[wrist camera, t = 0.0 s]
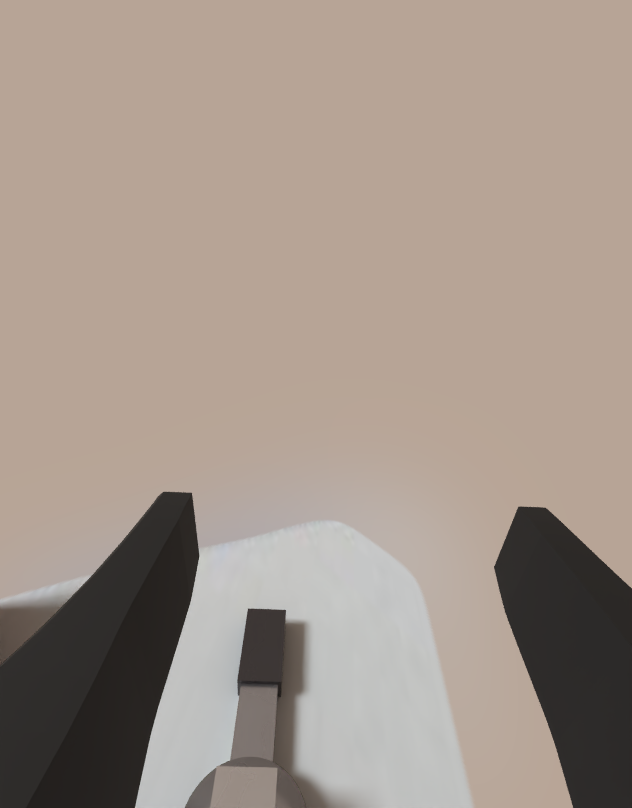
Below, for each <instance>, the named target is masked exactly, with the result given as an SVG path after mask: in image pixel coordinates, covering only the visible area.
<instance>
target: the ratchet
mask: <svg viewBox="0 0 632 808" xmlns="http://www.w3.org/2000/svg"><path fill="white" fill-rule="evenodd" d="M285 617H286V610H271V609H248V612H247V619H246V626H245V633H244V640H243V647H242V654H241V660H240V667H239V674H238V696H239V702H238V709H237V716H236V723H235V731H234V738H233V745H232V752H231V759H230V761H228V762H226V763H224V764H222V765H220V766H217V768H215V769H214V770H213V771H211V772H210V773H209V774H208V775H207V776H206V777H205V778H204V779H203V780H202V781H201V782H200V783H199V785H198V786H197V787H196V789H195V790H194V792H193V793H192V795H191V797H190V798H189V800H188V802H187V804H186V806H185V808H306V806H305V802H304V799H303V797H302V794H301V792H300V790H299V788H298V786H297V784H296V783H295V781H294V780H293V779H292V777H291V776H290V775H289V774H288V773H287V772H286V771H285V770H284V769H283V768H282V767H280V766H279V765H277V764H276V763H274V762H273V756H274V741H275V726H276V711H277V697H281V685H282V668H283V652H284V636H285Z"/></svg>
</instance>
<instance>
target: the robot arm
mask: <svg viewBox="0 0 632 808" xmlns="http://www.w3.org/2000/svg"><path fill="white" fill-rule="evenodd" d="M198 560H199V549H198V541H197V533H196V524H195V515H194V507H193V499H192V493H181V492H163V493H162V494H160V495H159V496H158V498H157V499H156V500H155V502H154V503H153V504H152V505H151V507H150V508H149V509H148V510H147V512H146V513H145V514H144V515H143V517H142V518H141V519H140V520H139V522H138V523H137V524H136V525H135V526H134V528H133V529H132V530H131V531H130V532H129V534H128V535H127V536H126V537H125V538H124V540H123V541H122V542H121V543H120V545H118V547H117V548H116V549H115V550H114V551H113V552H112V554H111V555H110V556H109V557H108V558H107V559H106V560H105V561H104V563H103V564H102V565H101V566H100V567H99V568H98V569H97V570H96V572H95V573H94V574H93V575H92V576H91V577H90V578H89V579H88V580H87V581H86V582H85V583H84V584H83V585H82V586H81V588H80V589H79V590H78V591H77V592H76V593H75V594H74V595H73V596H72V597H71V598H70V599H69V600H68V601H67V602H66V603H65V604H64V605H63V606H62V607H61V608H60V609H59V610H58V611H57V612H56V613H55V614H54V615H53V616H52V617H51V618H50V619H49V620H48V621H47V622H46V623H45V624H44V625H43V626H42V627H41V628H40V629H39V630H38V631H37V632H36V633H35V634H34V635H33V636H32V637H31V638H29V639H28V640H27V641H26V642H25V643H24V644H23V645H22V646H21V647H20V648H19V649H17V650H16V651H15V652H14V653H13V654H12V655H11V656H10V657H9V658H8V659H7V660H5V661H4V662H3V663H2V664H1V665H0V808H135V804H136V799H137V795H138V790H139V785H140V781H141V776H142V772H143V767H144V763H145V758H146V753H147V749H148V744H149V740H150V735H151V731H152V728H153V724H154V720H155V717H156V713H157V709H158V706H159V703H160V699H161V696H162V693H163V690H164V687H165V683H166V680H167V677H168V674H169V670H170V667H171V664H172V661H173V657H174V654H175V651H176V648H177V645H178V641H179V638H180V635H181V632H182V628H183V625H184V622H185V618H186V615H187V612H188V608H189V605H190V602H191V597H192V592H193V587H194V582H195V576H196V571H197V566H198ZM494 569H495V573H496V577H497V581H498V586H499V589H500V593H501V598H502V601H503V605H504V609H505V613H506V615H507V618H508V621H509V624H510V626H511V629H512V631H513V634H514V637H515V639H516V642H517V645H518V647H519V650H520V653H521V655H522V658H523V660H524V663H525V666H526V668H527V671H528V673H529V676H530V678H531V681H532V684H533V686H534V689H535V691H536V694H537V696H538V699H539V702H540V704H541V707H542V709H543V712H544V715H545V717H546V720H547V723H548V726H549V728H550V731H551V734H552V737H553V740H554V743H555V746H556V749H557V752H558V756H559V760H560V763H561V766H562V770H563V773H564V777H565V780H566V784H567V787H568V791H569V794H570V798H571V801H572V805H573V808H632V588H631V587H629V586H628V585H627V584H626V583H625V582H624V581H623V580H622V579H621V578H620V577H619V576H617V575H616V574H615V573H614V572H613V571H612V570H611V569H610V568H609V567H608V566H607V565H606V564H605V563H604V562H603V561H602V560H601V559H599V558H598V557H597V556H596V555H595V554H594V553H593V552H592V551H591V550H590V549H589V548H588V547H587V546H586V545H585V544H584V543H583V542H582V541H581V540H580V539H579V538H577V536H575V535H574V534H573V533H572V532H571V531H570V530H569V529H568V528H567V527H566V526H565V525H564V524H563V523H562V522H561V521H559V519H557V518H556V517H555V516H554V515H553V514H552V513H551V512H550V511H549V510H548V509H546V508H540V507H518V509H517V512H516V514H515V517H514V519H513V521H512V524H511V526H510V529H509V531H508V534H507V537H506V539H505V541H504V544H503V547H502V549H501V551H500V554H499V557H498V559H497V561H496V564H495V566H494Z"/></svg>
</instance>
